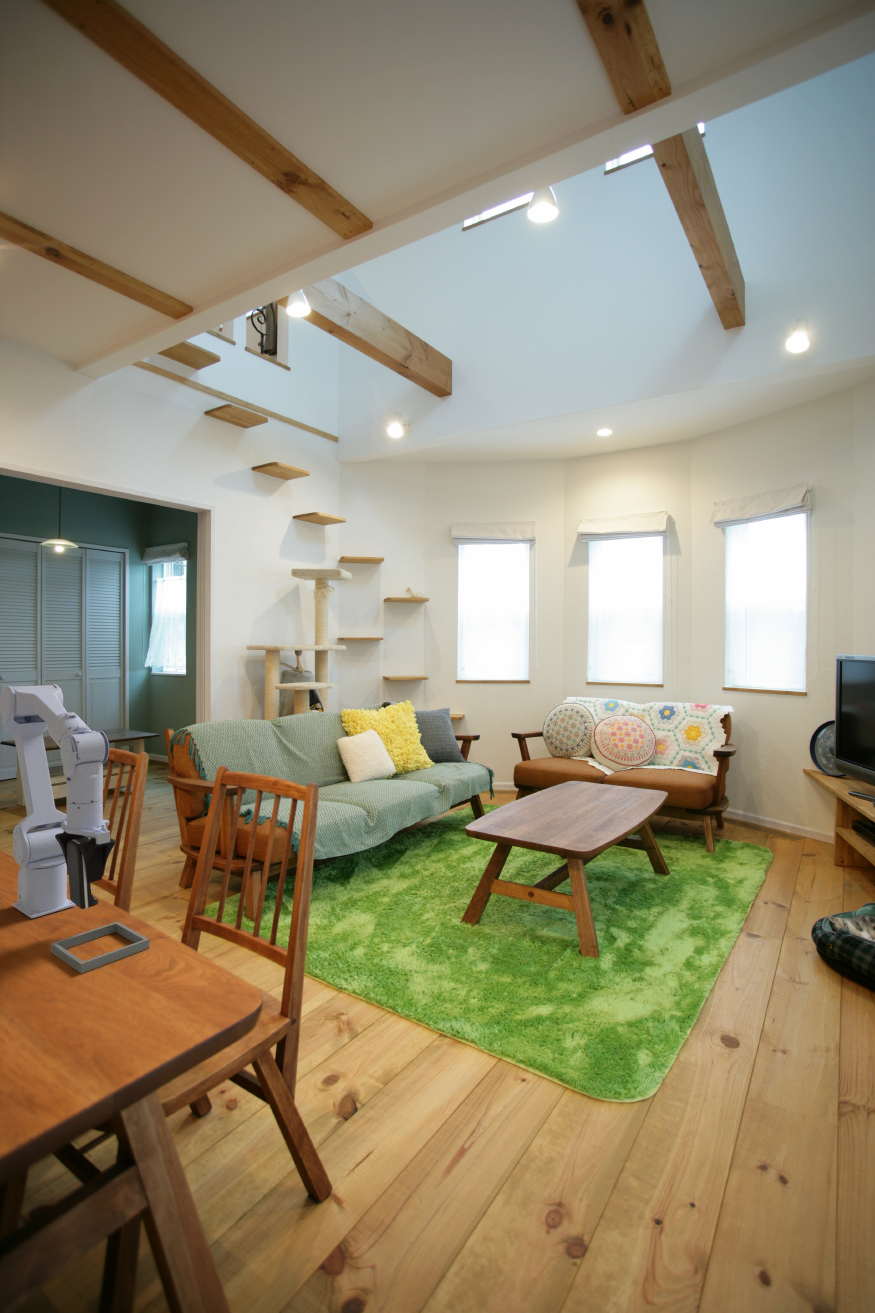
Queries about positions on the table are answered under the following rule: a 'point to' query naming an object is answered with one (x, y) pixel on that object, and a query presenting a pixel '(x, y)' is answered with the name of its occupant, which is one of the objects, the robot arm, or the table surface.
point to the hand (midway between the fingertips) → (84, 876)
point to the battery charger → (79, 876)
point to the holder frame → (80, 966)
